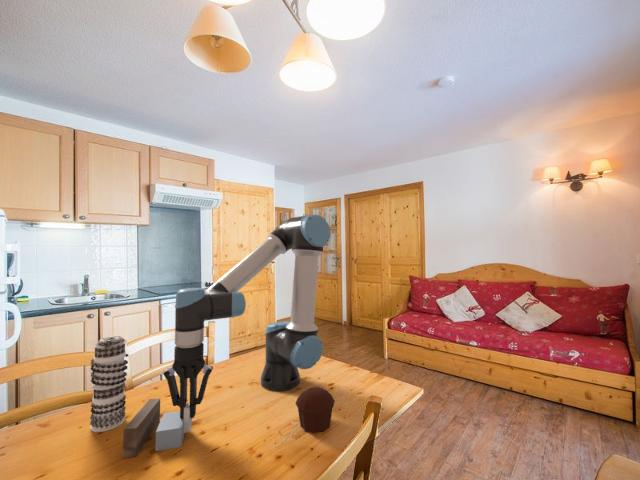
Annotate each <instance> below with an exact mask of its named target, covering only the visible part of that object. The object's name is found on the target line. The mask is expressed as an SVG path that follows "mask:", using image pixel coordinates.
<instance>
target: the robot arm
mask: <svg viewBox="0 0 640 480" xmlns="http://www.w3.org/2000/svg"><path fill="white" fill-rule="evenodd" d="M326 220H327V219H325V218H324V217H323V216H321V215H318V214H306V215H302V216H295V217H291V218H289V219H286V220H285V221H283V222H282V223H281V224H280V225H278V226H277V227H276V228H275V229H274V230H273V231H272V232H270V233H269V234H268V235H267V239H266V240H264V241H263V242H262V243H261V244H260V245H259V246H258V247H257V248H255V249H254V250H252V251H251V252H250V253H249V254H248V255H246V256H245V257H244V258H243V259H242V260H241V261H239V262H238V263H237V264H236V265H234V266H233V267H232V268H231V269H230V270H229V271H227V272H226V273H225V274H224V275H223V276H221V277H220V278H219V279H218V280H217V281H215V282H214V283H212V285H210V286H209V287H204V288H203V287H202V288H201V287H187V288H181V289H179V290H178V291H177V292H176V294H175V305H174V308H175V314H174V315H175V316H174V318H175V319H174V323H175V324H174V325H175V326H174V328H175V329H174V345H175V346H174V354H173V356H174V359H173V360H174V361H173V363H172V364H171V365H172V366H171V367H167V368H166V370H165V371H164V372H163V376H164V378H165V380H166V381H167V385H168V390H169V393H170V398H171V402H172V405H173V406H174V407H176V406H177V407H179V411H180V418H181V419H184V429H183V433H190V431H191V429H192V427H193V419H194V418H195V417H196V414H197V413H196V412H197V405H200V404H201V403H202V401H203V399H204V397H205V396H204V395H205V392H206V389H207V384H208V380H209V378H210V375H211V373H212V372H213V369H214V367H213V366H212V365H210V366H209V365H207V364H206V361H205V359H204V358H205V357H204V351H205V349H204V347H205V345H204V343H203V342H204V340H205V339H204V338H205V337H204V336H205V334H204V333H205V321H214V320H221V319H228V318H235V317H241V316H243V315H244V313H245V310H246V298H245V295H244V294H243V293H242V292H241V291H240V290H241V289H242V288H243V287H244V286H246V285H247V284H248V283H249V282H250V281H252V280H253V279H254V278H255V277H256V276H257V275H258V274H260V273H261V272H262V271H263V270H264V269H265V268H266V267H267V266H268V265H269V264H270V263H272V262H273V261H274V260H275V259H276V258H277V257H278V256H280V255H285V254H286V253H287V252H288V251H290V250H291V251H292V253H293V254H294V256H295V257H294V267H293V268H294V270H293V281H292V282H293V283H292V296H291V305H290V308H291V309H290V320H288V321H287V320H286V321H278V322H277V321H276V322H272V323H271V322H270V323H268V324H267V325H266V327H265V333H264V335H265V364H264V367H263V369H262V373H261V377H260V385H261V387H262V388H264V389H266V390H270V391H275V392H277V391H279V392H280V391H287V390H292V389H294V388H295V387H297V386H298V385H299V384H300V381H301V380H300V378H301V377H300V376H301V375H300V372H299V369H301V370H308V369H312V368H313V367H314V366H316V365H317V363H319V361H320V359H321V357H322V355H323V351H324V344H323V342H322V341H321V339H320V337H319V336H318V332H319V328H318V326H317V325H316V323H315V314H316V313H315V312H316V299H317V285H318V271H319V270H318V269H319V258H320V256H321V255H322V254H324V246H326V245H327V244H328V243H329V242H330V240H331V234H332V232H331V227H330V225H329V223H328V221H326ZM201 371H202V374H203V376H202V380H201V384H200V387H199V390H198V388H197V387H198V386H197V385H198V376H199V374H200V373H201ZM175 373H176V375H177V376H178V377H179V383H180V384H179V387H178V383H177V380H176V375H175ZM188 379H189V400H188ZM197 391H199V392H198V393H197ZM197 394H198V395H197ZM188 401H189V402H188Z"/></svg>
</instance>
